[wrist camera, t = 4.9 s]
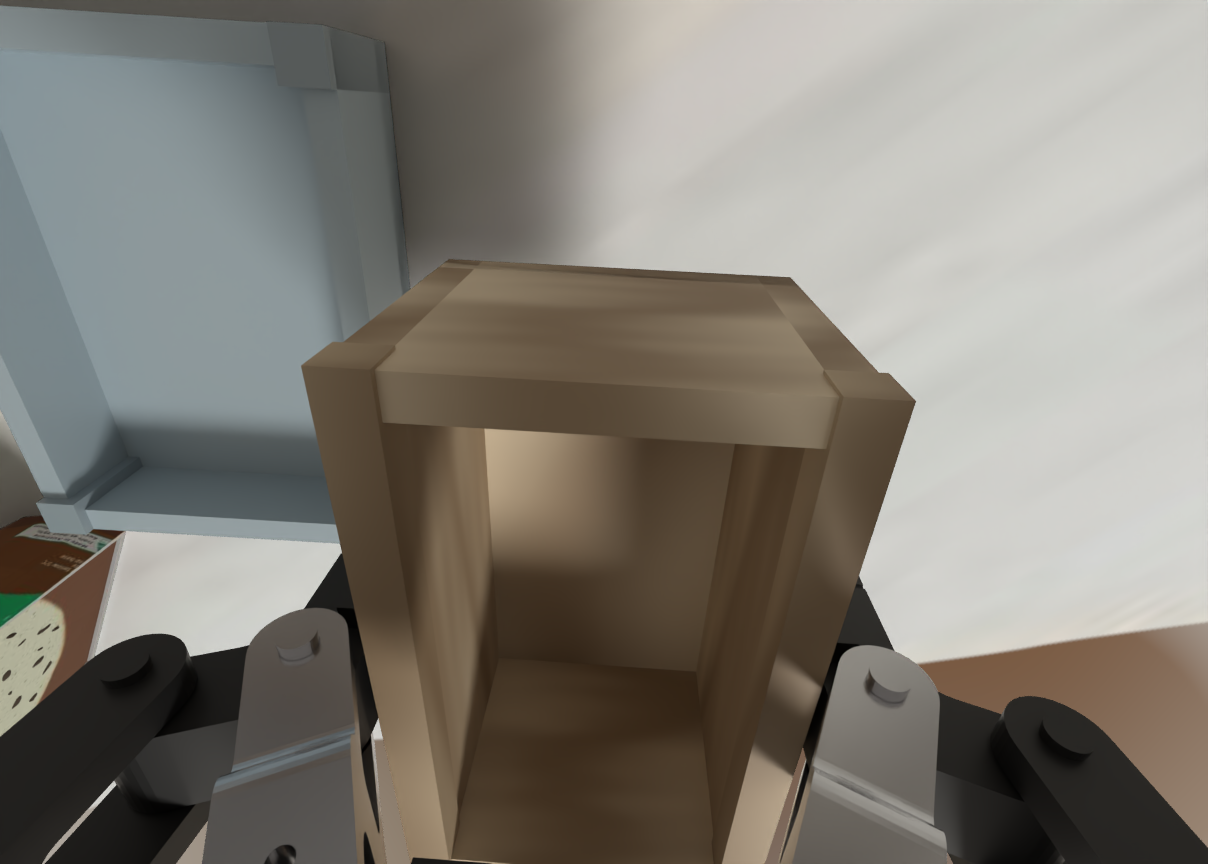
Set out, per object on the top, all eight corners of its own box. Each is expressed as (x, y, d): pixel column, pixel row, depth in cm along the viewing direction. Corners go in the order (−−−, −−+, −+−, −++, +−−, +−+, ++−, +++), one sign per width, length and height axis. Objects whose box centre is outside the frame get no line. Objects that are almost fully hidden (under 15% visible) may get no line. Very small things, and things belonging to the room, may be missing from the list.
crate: (384, 42, 16) (322, 24, 13) (431, 488, 23) (399, 553, 20) (-45, 15, 16) (-222, -10, 13) (133, 471, 23) (50, 532, 20)
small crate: (793, 274, 10) (916, 401, 6) (716, 671, 15) (750, 907, 11) (445, 256, 10) (300, 366, 6) (479, 654, 15) (414, 880, 11)
